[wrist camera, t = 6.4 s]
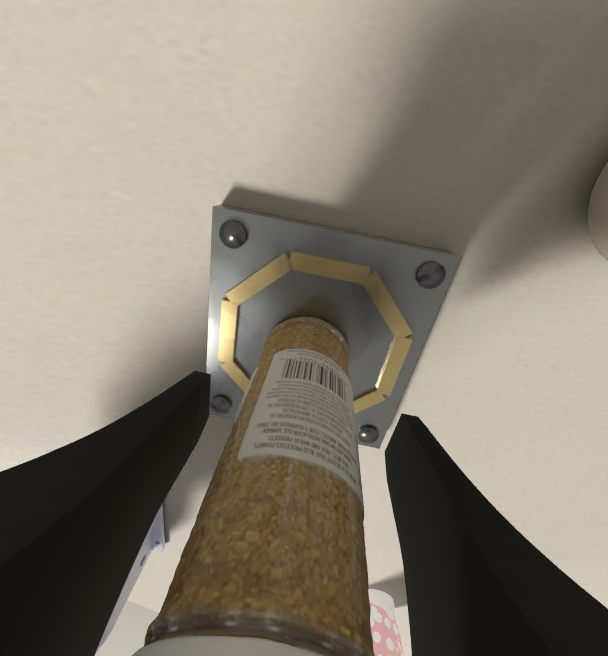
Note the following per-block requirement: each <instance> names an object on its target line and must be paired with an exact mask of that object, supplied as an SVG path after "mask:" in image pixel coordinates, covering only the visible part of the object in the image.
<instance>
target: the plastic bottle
mask: <svg viewBox="0 0 608 656" xmlns="http://www.w3.org/2000/svg"><path fill="white" fill-rule="evenodd" d="M588 224H589V231H590V234H591V238H592V241H593V244H594V246H595V247H596V249H597V250H598V252H599V253H600V255H601V256H603V257H604V258H605V259H606V260H607V261H608V162H607V163H606V165H605V166H604V168H603V170H602V172H601V173H600V175H599V177H598V179H597V181H596V183H595V185H594V188H593V191H592V194H591V196H590V202H589V207H588Z"/></svg>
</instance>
